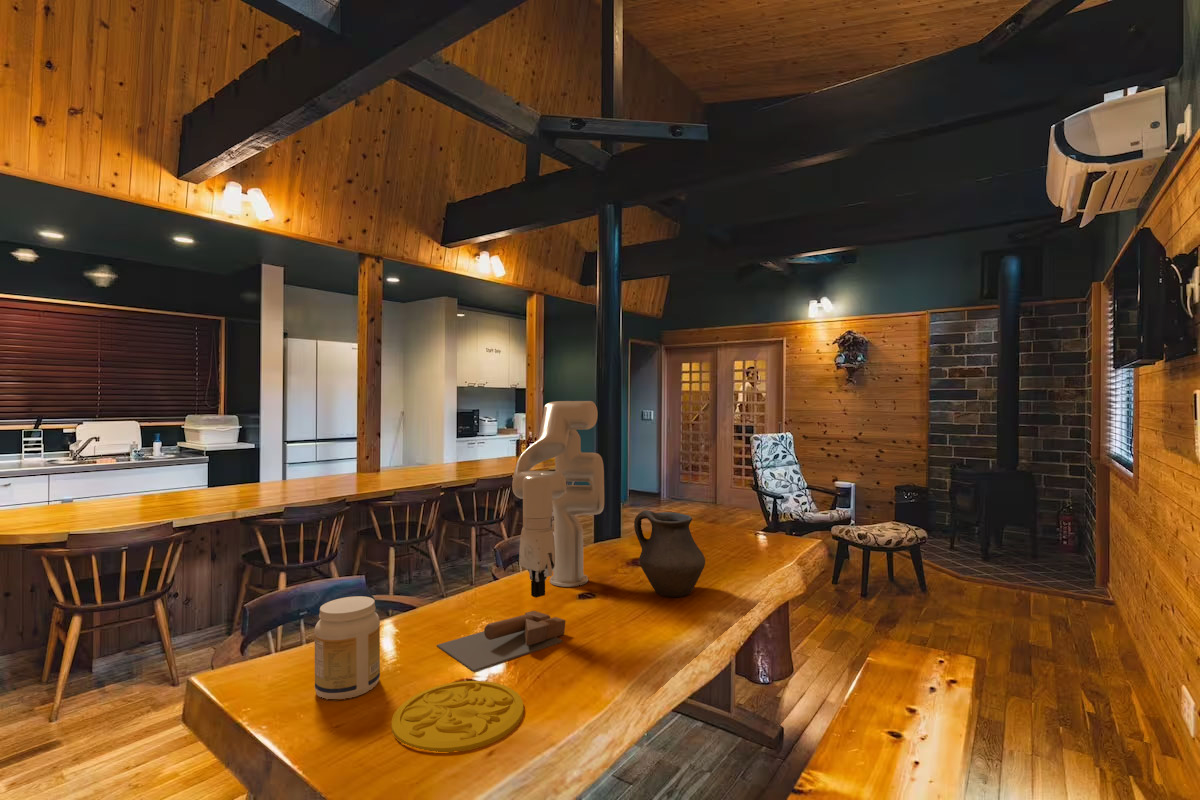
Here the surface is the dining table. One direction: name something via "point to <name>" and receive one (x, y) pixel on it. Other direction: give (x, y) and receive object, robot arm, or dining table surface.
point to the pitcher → (669, 553)
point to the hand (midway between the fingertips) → (538, 595)
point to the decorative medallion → (458, 716)
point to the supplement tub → (347, 648)
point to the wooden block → (527, 627)
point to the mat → (491, 649)
